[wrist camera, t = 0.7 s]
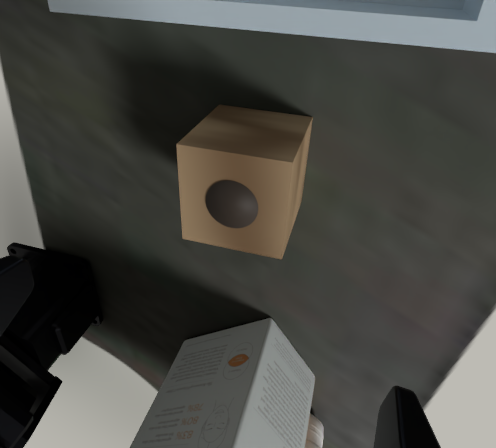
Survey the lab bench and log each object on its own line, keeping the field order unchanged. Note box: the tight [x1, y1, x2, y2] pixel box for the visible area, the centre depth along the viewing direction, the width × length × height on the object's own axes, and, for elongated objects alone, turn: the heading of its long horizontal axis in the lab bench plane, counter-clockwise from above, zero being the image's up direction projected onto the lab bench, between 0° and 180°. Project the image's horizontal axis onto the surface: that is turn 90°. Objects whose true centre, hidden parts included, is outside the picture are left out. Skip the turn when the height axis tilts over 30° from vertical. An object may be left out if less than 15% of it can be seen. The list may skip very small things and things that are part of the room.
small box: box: [130, 318, 315, 448], centre depth 24 cm, size 8×6×13 cm
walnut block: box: [176, 105, 313, 259], centre depth 18 cm, size 4×4×5 cm
